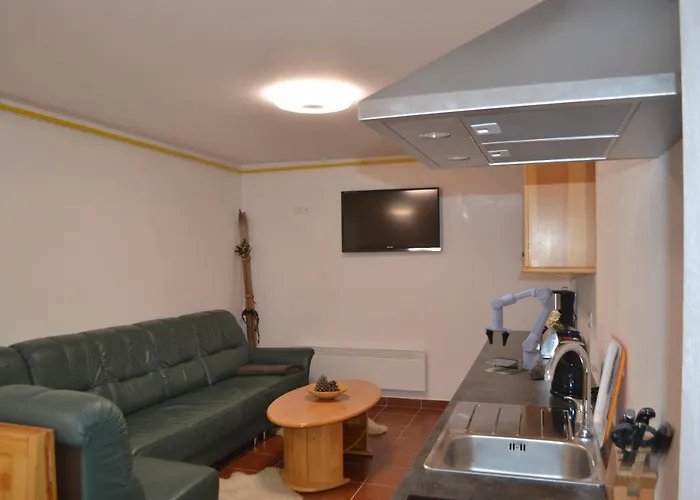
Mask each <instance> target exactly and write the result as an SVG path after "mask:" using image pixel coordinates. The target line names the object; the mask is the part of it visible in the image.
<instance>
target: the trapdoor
mask: <svg viewBox="0 0 700 500" xmlns="http://www.w3.org/2000/svg"><path fill="white" fill-rule="evenodd" d="M518 360H522V361H523V358H521V357H520V358H518V357H511V356H510V357H509V356H505V355H504V356H503V355H501V356H499V357H496V358H495V359H492V358H491V359H490V360H488V361H485V364H490V365H492V364H496V366H498V367H504V368H511V369H518Z"/></svg>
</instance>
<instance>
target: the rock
mask: <svg viewBox="0 0 700 500" xmlns="http://www.w3.org/2000/svg"><path fill="white" fill-rule="evenodd" d="M528 370H529V371H528V376H529V377H530V379H531V380H539V379H545V378H544V374H545V371H546V369H544V366H543V367H542V365H541V364H540V362H539V361H537V360H536V362H535V363H534V365H533V367H532V368H531V369H528Z"/></svg>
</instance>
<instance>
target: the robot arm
mask: <svg viewBox="0 0 700 500" xmlns="http://www.w3.org/2000/svg"><path fill="white" fill-rule="evenodd" d="M529 297H532V298H537V299H538V300H539V301H540V302H541V304H542V309H541V311H540V313H539V315H538V317H537V318H536V321H535V323H534V325H533V327H532V329H531V331H530V333H529V335H528V336H527V338H526V339H525V340H523V342H522V344H521V346H522V349H523V350H522V352H523V353H522V355H523V356H522V365H523V369H525V370H526V369H527V370H530V369H531V368H532V367H533V365H534V363H535V362H536V360H537V361H539V362H540V364H541V365H542V367H543V368H544V361H543V360H544V356H543V353H542V352H539V351H538V347H539V340H540V337H541V334H542V332H543V330H544V329H545V326H546V324H547V322H548V320H549V319H550V316H551V314H552V312H553V310H554V308H555V301H554V293H553V291H552V289H551V288H550V287H549V286H547V285H546V286H542V287H541V286H540V287H533V288H530V289H527V290H525V291H522V292H519V293H516V294H514V293H513V292H511V293H510V292H507V293H506V294H505V295H500V296H498V297H494V298H493V299H492V300H491V301H490V306H491V326H484V331H485V334H486V336H487V339H488V342H489V345H493V344H494V340H493V339H494V332H498V333H501V337H502V346H503V347H505V346H507V341H508V339H509V336H510V335H511V333H512V329H511V328H506V327H504V309H503V307H504V308H505V307H508V306H511V305H515V304H516V303H517V302H518V300H522V299H526V298H529Z"/></svg>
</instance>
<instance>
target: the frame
mask: <svg viewBox="0 0 700 500" xmlns="http://www.w3.org/2000/svg"><path fill="white" fill-rule="evenodd" d="M495 358H497V356H495V355H492V356H491V360H492V359H495ZM523 369H524V368H523V359H522V360H518V368H511V367H504V366H498V365H496V364H491V367H490V368H486V369H485V370H484V369H483V370H484V372H489V373H496V374H503V375H510V376H511V375H513V374H514V375H515V374H516V373H518V372H523Z"/></svg>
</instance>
